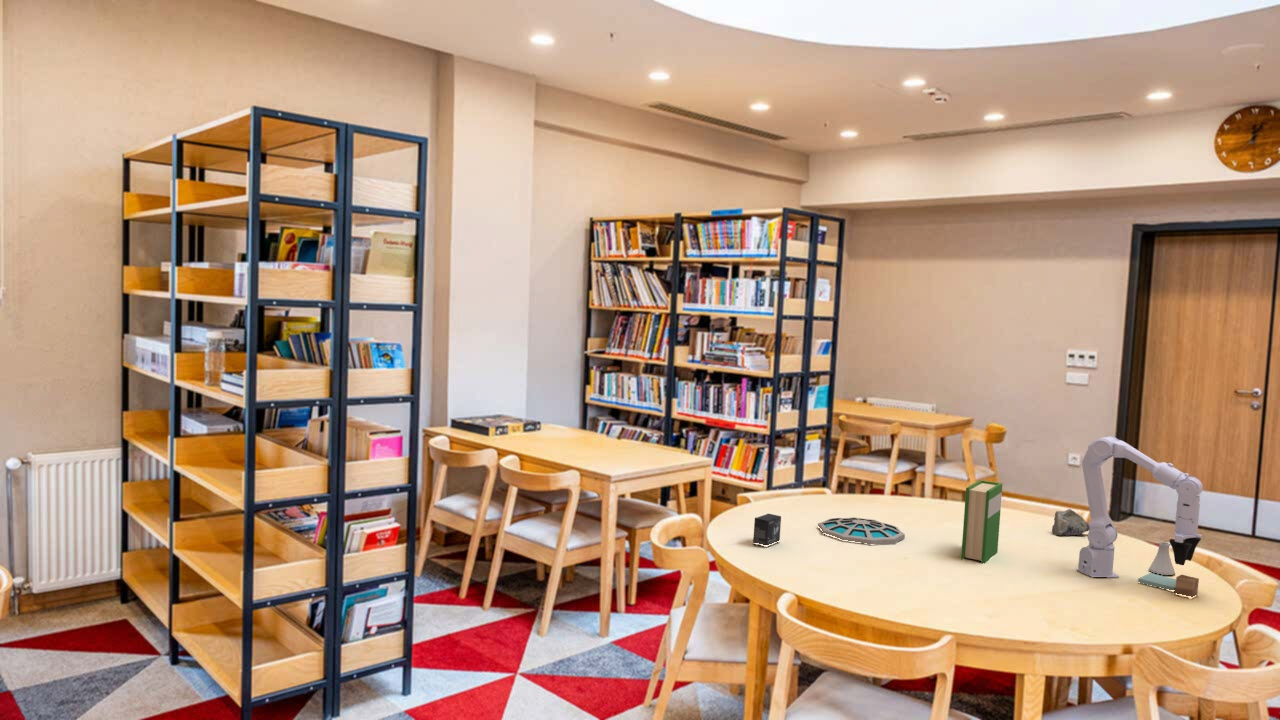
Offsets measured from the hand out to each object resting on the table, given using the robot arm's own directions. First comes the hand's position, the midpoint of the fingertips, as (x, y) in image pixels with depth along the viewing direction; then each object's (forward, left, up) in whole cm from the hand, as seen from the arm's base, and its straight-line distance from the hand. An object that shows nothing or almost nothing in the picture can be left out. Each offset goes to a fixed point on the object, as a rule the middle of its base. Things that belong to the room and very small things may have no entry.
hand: (1183, 562), depth 257 cm
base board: (0, +7, -10) cm, 12 cm away
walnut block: (0, -2, -10) cm, 10 cm away
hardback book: (-42, +39, -10) cm, 58 cm away
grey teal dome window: (-72, +67, -10) cm, 99 cm away
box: (-112, +55, -10) cm, 125 cm away
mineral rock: (+11, +63, -10) cm, 65 cm away
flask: (+10, +18, -10) cm, 23 cm away
